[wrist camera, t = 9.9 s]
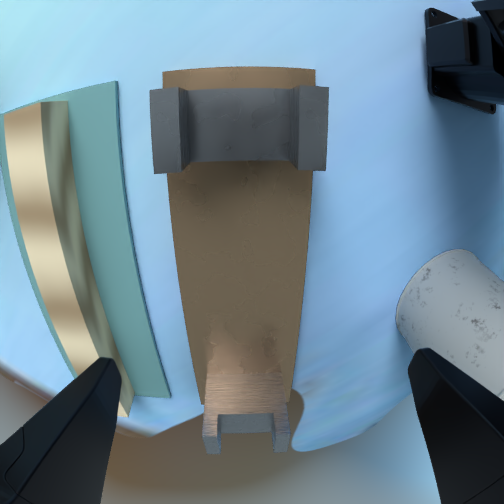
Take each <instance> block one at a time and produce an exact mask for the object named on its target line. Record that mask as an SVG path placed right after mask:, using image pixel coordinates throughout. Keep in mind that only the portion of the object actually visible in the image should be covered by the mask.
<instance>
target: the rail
mask: <svg viewBox="0 0 504 504" xmlns="http://www.w3.org/2000/svg"><path fill="white" fill-rule="evenodd" d="M4 129H5V141H6V150H7V159H8V166H9V173H10V179H11V185H12V191H13V196H14V201H15V206H16V211H17V215H18V220H19V224H20V228H21V232H22V236H23V239H24V243H25V247H26V250H27V254H28V257H29V260H30V263H31V267H32V270H33V273H34V276H35V279H36V282H37V285H38V287H39V290H40V293H41V296H42V298H43V301H44V304H45V306H46V309H47V311H48V314H49V316H50V318H51V321H52V323H53V326H54V328H55V330H56V332H57V335H58V337H59V339H60V341H61V343H62V345H63V348H64V350H65V352H66V354H67V356H68V358H69V360H70V362H71V364H72V366H73V368H74V370H75V372H76V373H77V375H78V376H79V375H80V374H81V373H82V372H83V371H84V370H86V369H87V368H88V367H89V366H90V365H91V364H92V363H93V362H95V361H96V360H97V359H98V358H100V357H109V358H113V359H114V360H115V362H116V365H117V367H118V369H119V372H120V374H121V377H122V385H121V392H120V400H119V407H118V415H117V416H122V417H128V416H129V413H130V409H131V405H132V401H133V398H134V394H135V392H134V389H133V387H132V385H131V382H130V380H129V378H128V375H127V373H126V370H125V368H124V365H123V363H122V360H121V357H120V355H119V352H118V349H117V347H116V344H115V341H114V338H113V335H112V333H111V330H110V327H109V324H108V321H107V318H106V315H105V311H104V308H103V305H102V302H101V298H100V295H99V291H98V288H97V284H96V281H95V277H94V273H93V269H92V266H91V262H90V257H89V253H88V249H87V245H86V240H85V236H84V231H83V226H82V221H81V216H80V210H79V205H78V199H77V192H76V186H75V179H74V172H73V163H72V155H71V145H70V133H69V118H68V100H66V101H49V102H39V103H36V104H33V105H30V106H27V107H24V108H21V109H18V110H15V111H13V112H10V113H7V114H5V115H4Z"/></svg>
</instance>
